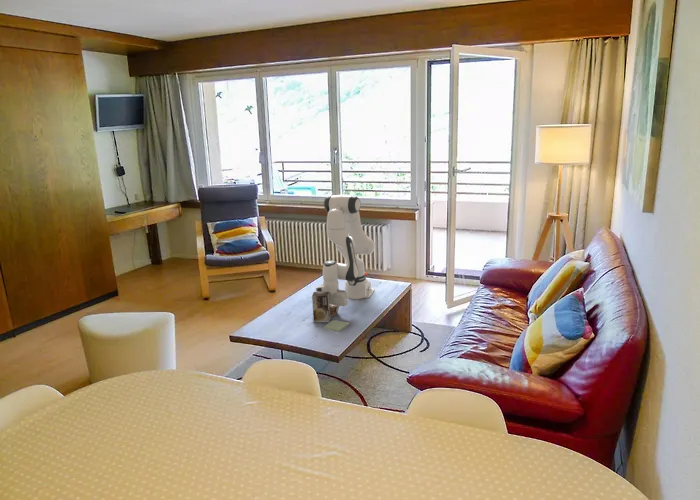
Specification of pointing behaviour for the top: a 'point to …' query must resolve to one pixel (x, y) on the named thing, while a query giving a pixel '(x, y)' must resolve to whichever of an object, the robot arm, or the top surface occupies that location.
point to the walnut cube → (333, 310)
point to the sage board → (336, 325)
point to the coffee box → (321, 306)
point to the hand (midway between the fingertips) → (331, 310)
